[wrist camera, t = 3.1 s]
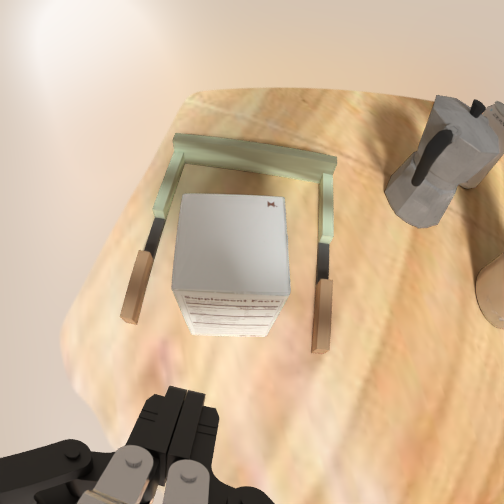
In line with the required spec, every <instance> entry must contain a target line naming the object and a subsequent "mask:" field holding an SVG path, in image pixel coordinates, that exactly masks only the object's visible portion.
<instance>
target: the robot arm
mask: <svg viewBox="0 0 504 504" xmlns="http://www.w3.org/2000/svg"><path fill="white" fill-rule="evenodd" d="M476 295H477V300H478V303H479V306H480V309H481V311H482V312H483V314H484V316H485V317H486V319H487V320H488V321H489V322H490V323H491V324H492V325H493V326H495V327H497V328H500V329H504V253H502V254H501V255H499V256H498V257H497V258H496V259H494V260H493V261H492V262H490V263H489V264H488V265H486V266H485V267H484V268H482V270H481V271H480V272H479V274H478V276H477V280H476ZM205 395H206V394H203V393H199V392H195V391H190V390H188V392H187V390H186V389H181V388H177V387H173V386H169V388H168V390H167V393H166V395H165V397H164V396H160V395H157V394H154V395H153V396H151V397H150V398H149V399H148V400H146V402H145V404H144V406H143V409H142V411H141V413H140V415H139V418H138V419H137V421H136V424H135V426H134V428H133V430H132V432H131V435H130V437H129V439H128V441H127V443H126V445H125V446H123V447H121V448H119V449H118V450H117V451H116V452H112V453H101V452H91V451H90V449H89V448H88V446H87V445H86V444H84V443H83V442H81V441H78V440H73V439H68V440H63V441H60V442H57V443H54V444H51V445H47V446H44V447H41V448H37V449H34V450H30V451H26V452H22V453H19V454H15V455H11V456H7V457H3V458H0V504H152V503H153V500H154V496H155V493H156V490H157V486H158V485H161V486H165V483H166V488H165V493H164V499H163V504H274V502H273V501H272V500H271V499H270V498H269V497H268V496H267V495H266V494H265V493H264V492H263V491H261V490H259V489H257V488H254V487H248V486H244V487H239V488H236V489H235V488H233V487H231V486H228V485H226V484H224V483H222V482H221V481H219V480H218V479H217V478H216V477H215V476H214V474H213V472H212V468H211V464H212V458H213V452H214V446H215V441H216V435H217V429H218V423H219V416H218V413H217V410H216V408H211V407H206V406H204V401H205Z"/></svg>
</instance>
